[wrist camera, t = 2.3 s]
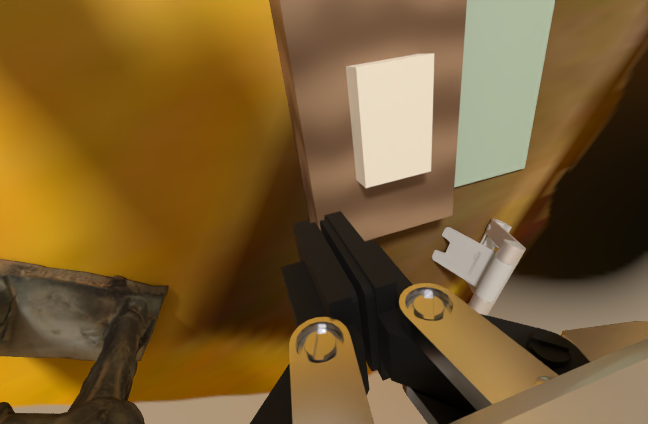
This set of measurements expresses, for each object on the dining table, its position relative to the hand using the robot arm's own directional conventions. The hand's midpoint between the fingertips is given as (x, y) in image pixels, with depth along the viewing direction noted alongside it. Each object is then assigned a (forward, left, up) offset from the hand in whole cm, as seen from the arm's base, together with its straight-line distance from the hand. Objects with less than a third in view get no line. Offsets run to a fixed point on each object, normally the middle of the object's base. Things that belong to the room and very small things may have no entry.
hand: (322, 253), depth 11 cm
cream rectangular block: (0, +10, -15) cm, 18 cm away
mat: (0, +23, -19) cm, 30 cm away
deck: (0, +10, -19) cm, 21 cm away
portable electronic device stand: (+19, +22, -19) cm, 35 cm away
